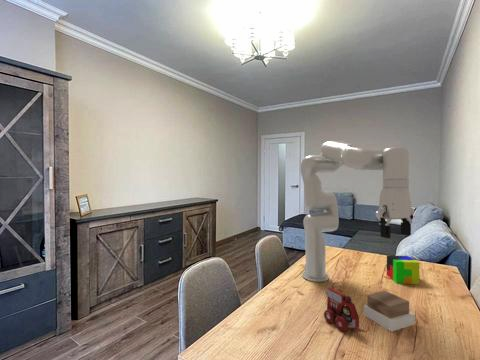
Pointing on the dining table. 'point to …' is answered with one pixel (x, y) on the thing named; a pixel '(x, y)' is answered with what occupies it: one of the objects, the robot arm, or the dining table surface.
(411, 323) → the grey block
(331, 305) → the toy fire truck
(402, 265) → the puzzle toy
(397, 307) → the walnut block
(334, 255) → the dining table surface
